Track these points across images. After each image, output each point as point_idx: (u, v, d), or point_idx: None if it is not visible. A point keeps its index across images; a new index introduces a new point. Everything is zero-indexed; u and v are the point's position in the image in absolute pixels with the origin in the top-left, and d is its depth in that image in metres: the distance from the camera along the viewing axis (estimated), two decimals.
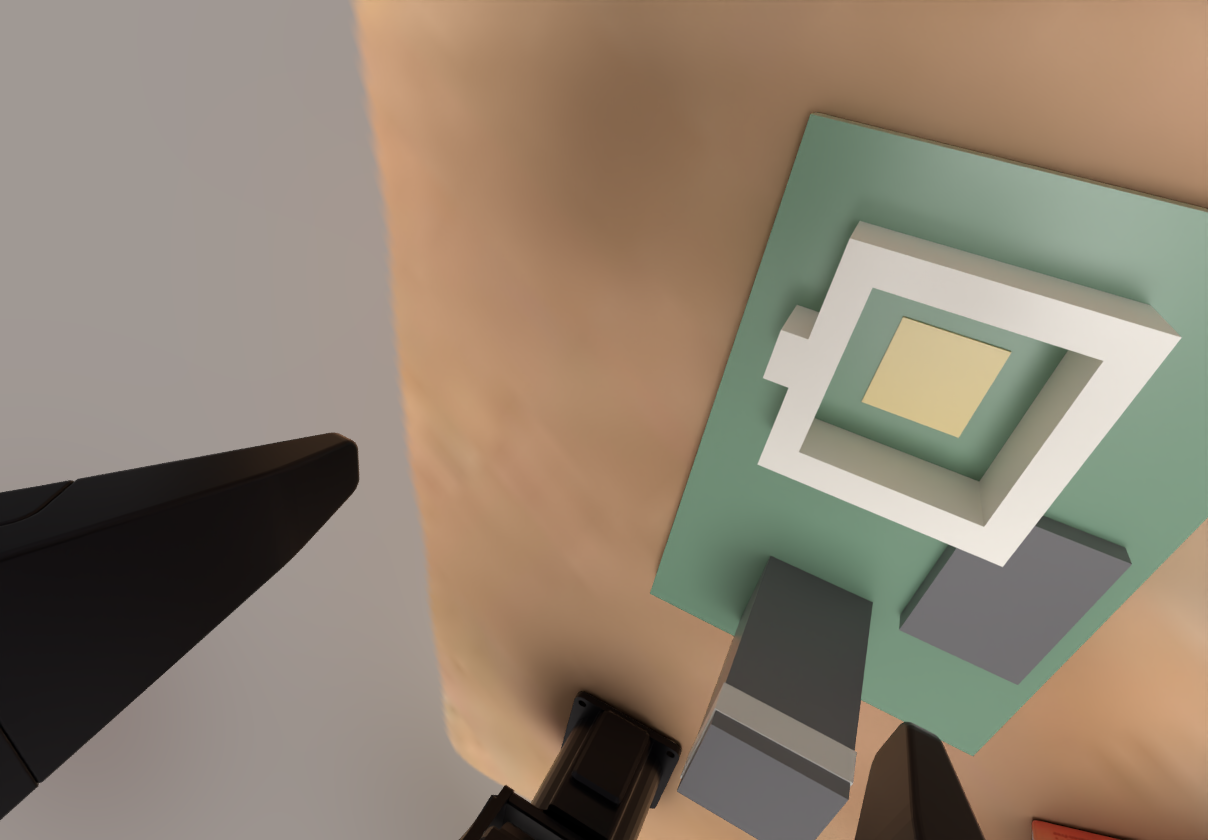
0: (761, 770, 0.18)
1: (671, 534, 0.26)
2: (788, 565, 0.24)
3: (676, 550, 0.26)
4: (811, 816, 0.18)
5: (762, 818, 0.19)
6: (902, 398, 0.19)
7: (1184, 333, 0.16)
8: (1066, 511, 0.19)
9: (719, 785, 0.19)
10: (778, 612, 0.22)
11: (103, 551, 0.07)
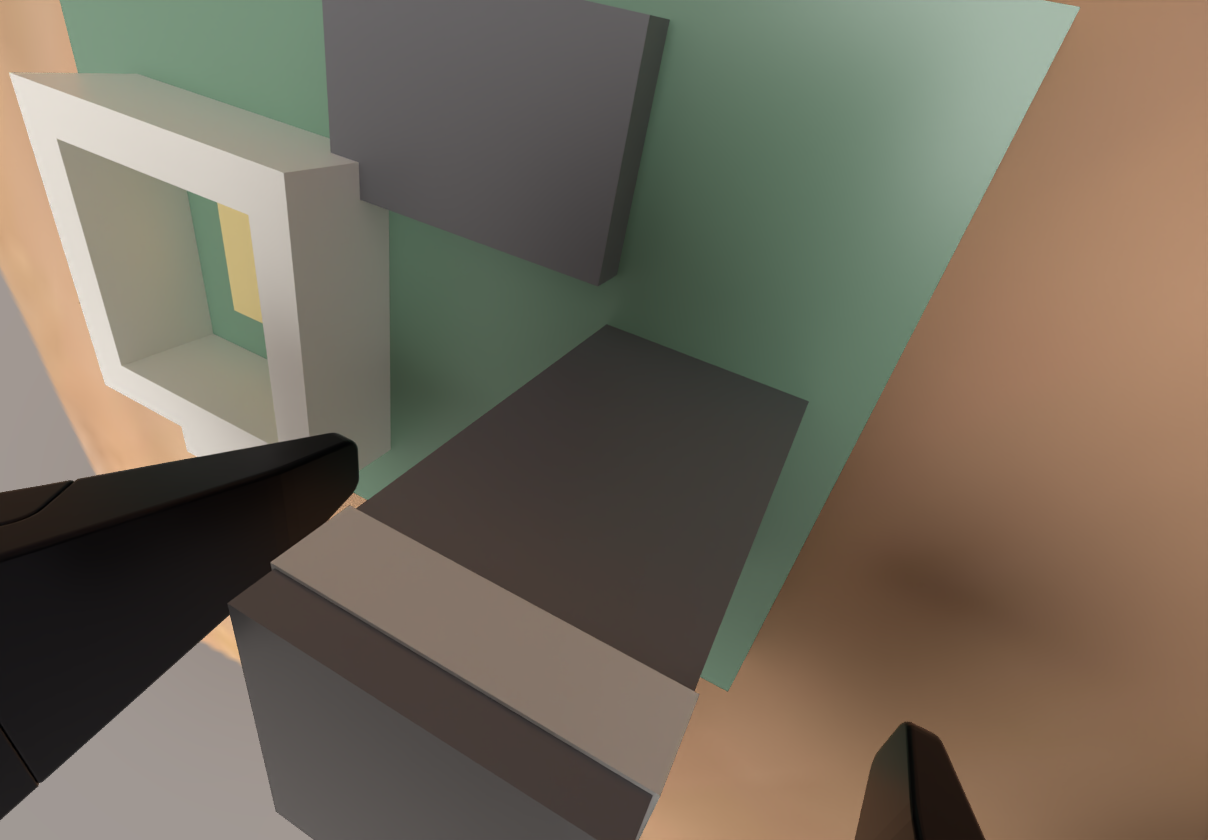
0: (312, 772, 0.07)
1: None
2: None
3: None
4: (361, 718, 0.05)
5: None
6: None
7: (139, 27, 0.14)
8: None
9: None
10: None
11: (103, 551, 0.07)
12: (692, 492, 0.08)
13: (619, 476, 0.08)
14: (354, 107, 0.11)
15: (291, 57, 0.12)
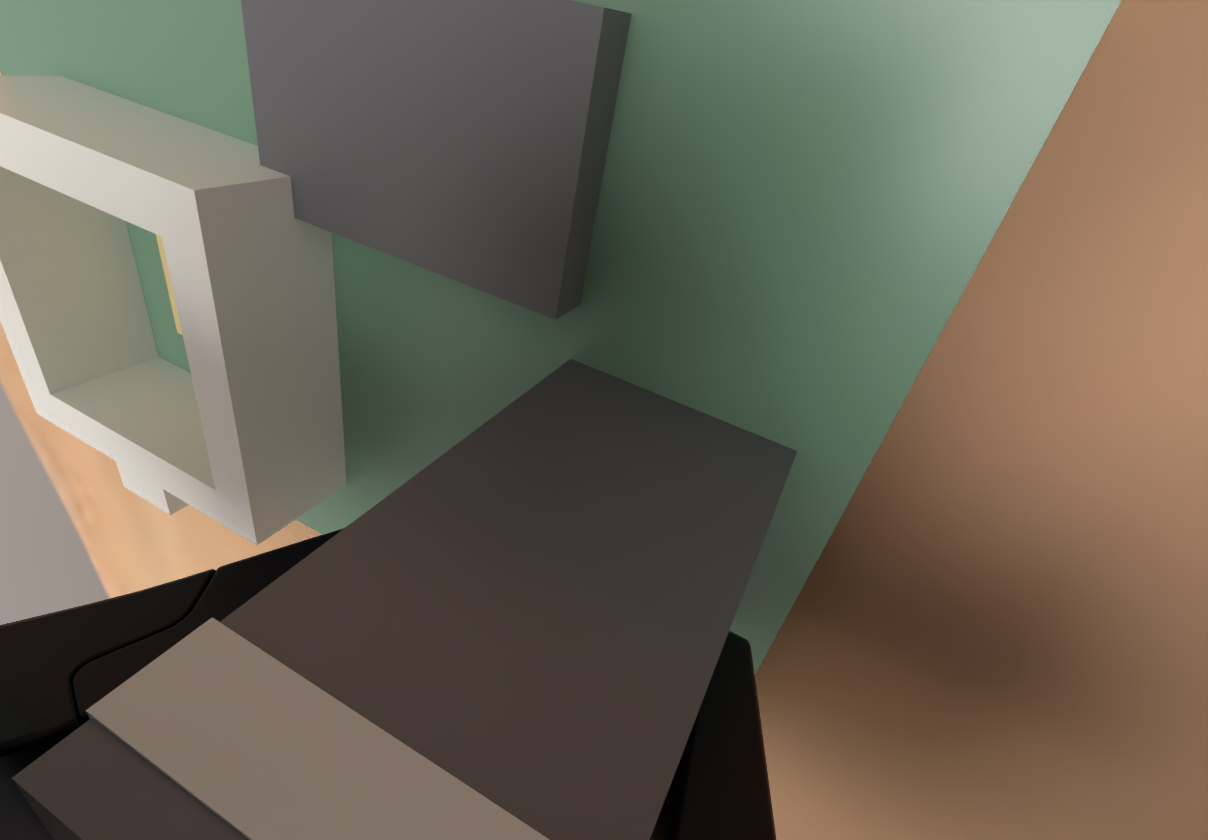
0: None
1: None
2: None
3: None
4: None
5: None
6: None
7: (60, 24, 0.12)
8: None
9: None
10: None
11: None
12: (651, 580, 0.07)
13: (563, 561, 0.07)
14: (282, 114, 0.10)
15: (219, 58, 0.11)
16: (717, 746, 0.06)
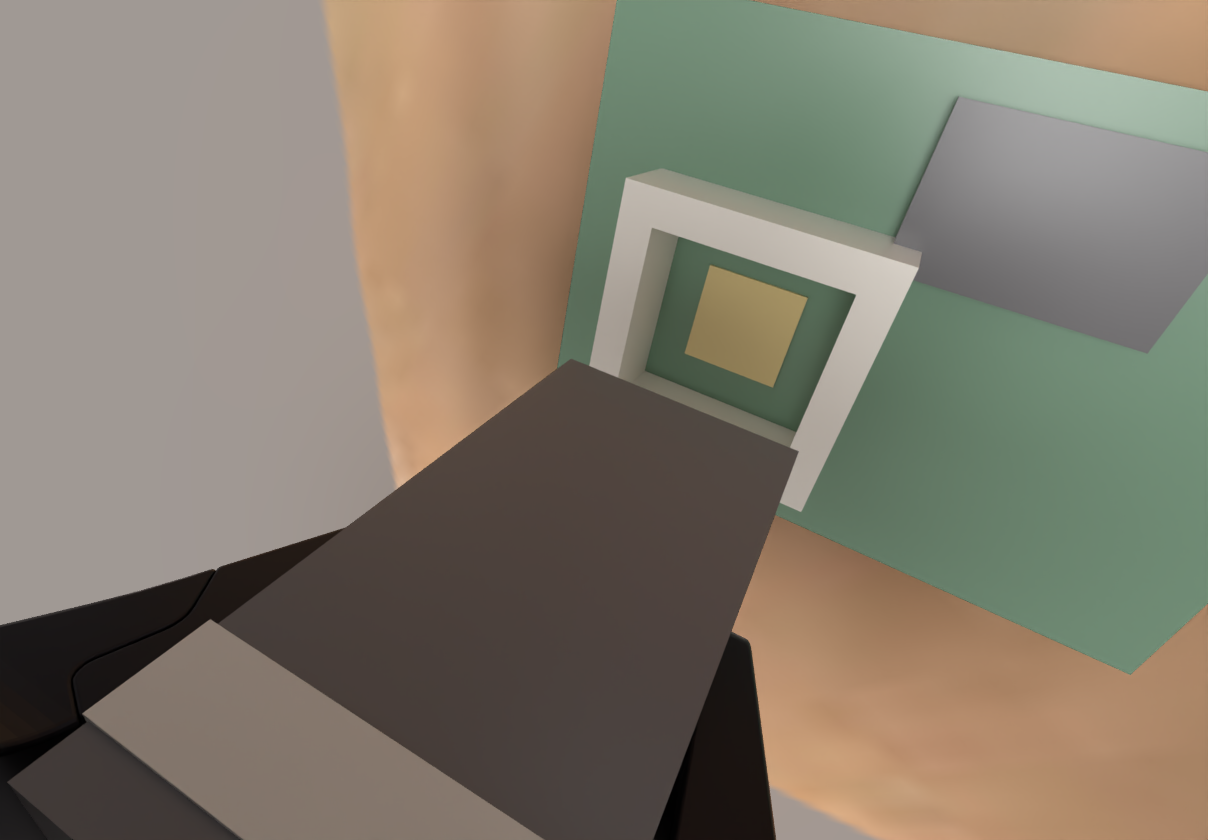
0: None
1: (994, 611, 0.19)
2: None
3: (1026, 613, 0.19)
4: None
5: None
6: (765, 352, 0.19)
7: (684, 134, 0.17)
8: (904, 174, 0.15)
9: None
10: None
11: None
12: (653, 581, 0.07)
13: (565, 562, 0.07)
14: (937, 212, 0.15)
15: (849, 167, 0.16)
16: (717, 746, 0.06)
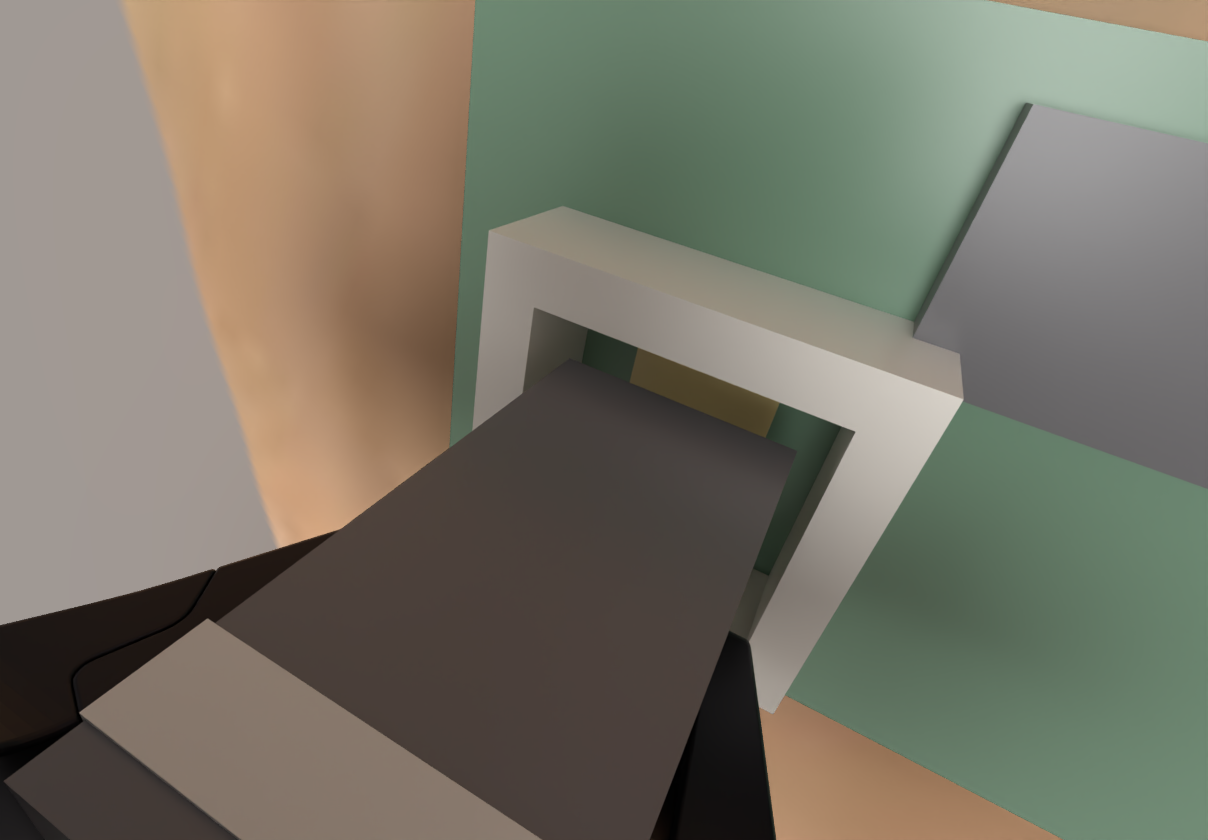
0: None
1: (1046, 828, 0.13)
2: None
3: (1094, 838, 0.13)
4: None
5: None
6: None
7: (590, 157, 0.11)
8: (929, 227, 0.09)
9: None
10: None
11: None
12: (651, 580, 0.07)
13: (562, 561, 0.07)
14: (988, 295, 0.09)
15: (841, 213, 0.10)
16: (717, 746, 0.06)
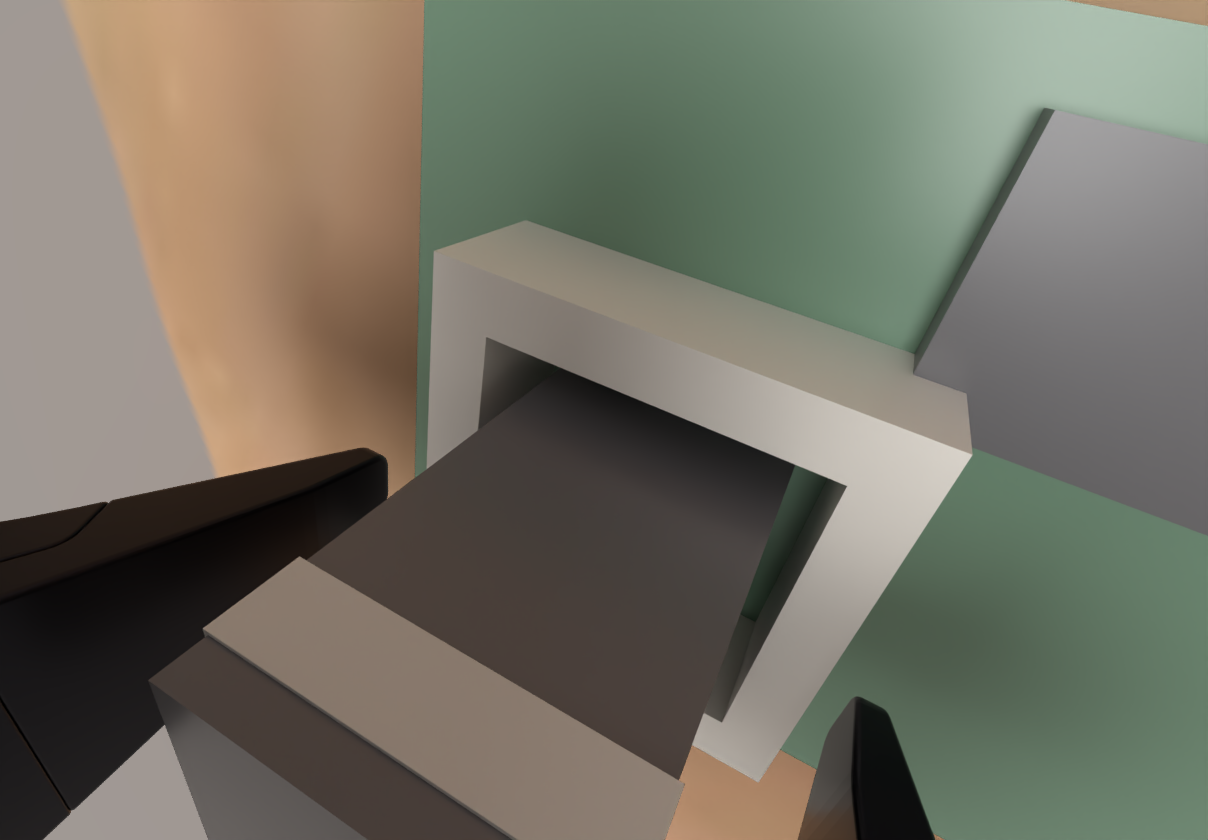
0: None
1: None
2: None
3: None
4: (297, 814, 0.05)
5: None
6: None
7: (554, 166, 0.10)
8: (932, 249, 0.08)
9: None
10: None
11: (138, 575, 0.07)
12: (682, 533, 0.07)
13: (603, 516, 0.07)
14: (999, 328, 0.08)
15: (832, 231, 0.09)
16: None
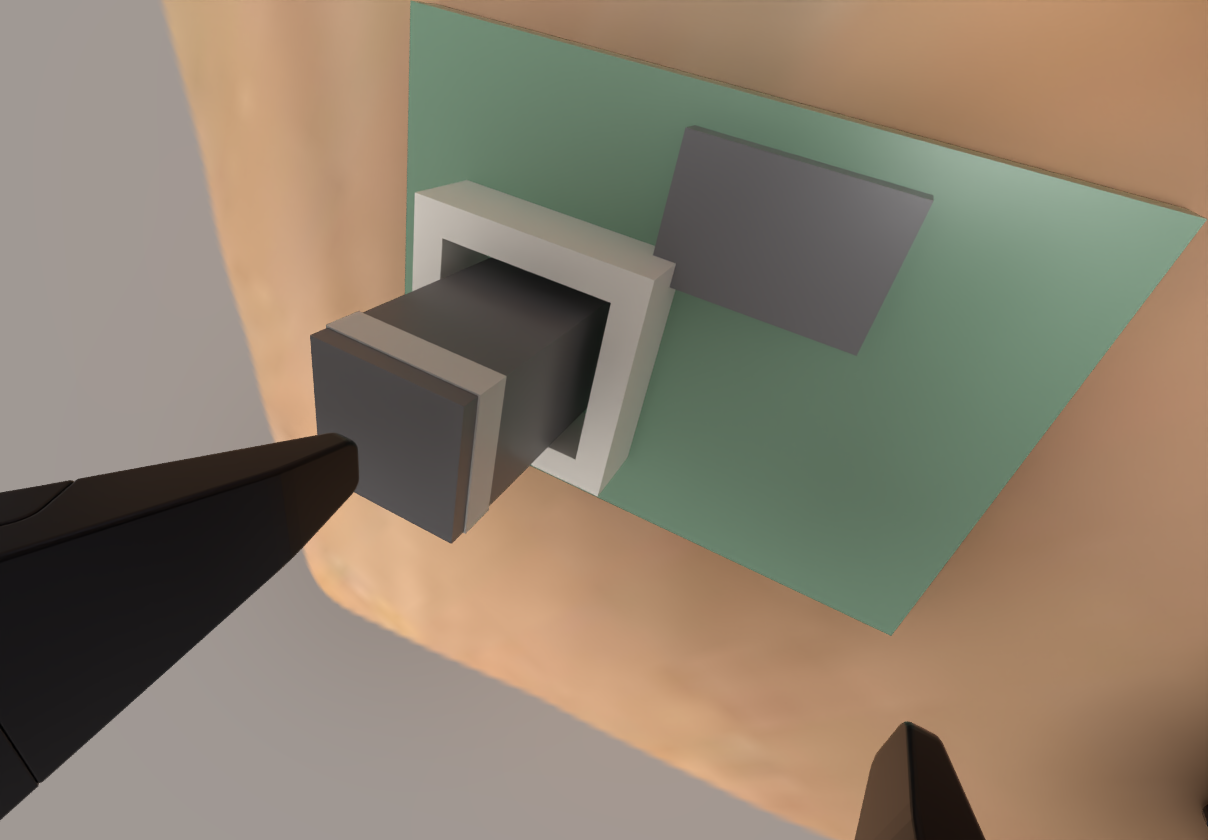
0: (342, 430, 0.14)
1: (782, 582, 0.21)
2: None
3: (806, 584, 0.21)
4: (366, 379, 0.13)
5: (416, 441, 0.13)
6: None
7: (481, 149, 0.19)
8: (661, 192, 0.17)
9: (399, 485, 0.14)
10: None
11: (103, 551, 0.07)
12: (530, 321, 0.16)
13: (494, 313, 0.16)
14: (683, 229, 0.16)
15: (617, 184, 0.17)
16: None
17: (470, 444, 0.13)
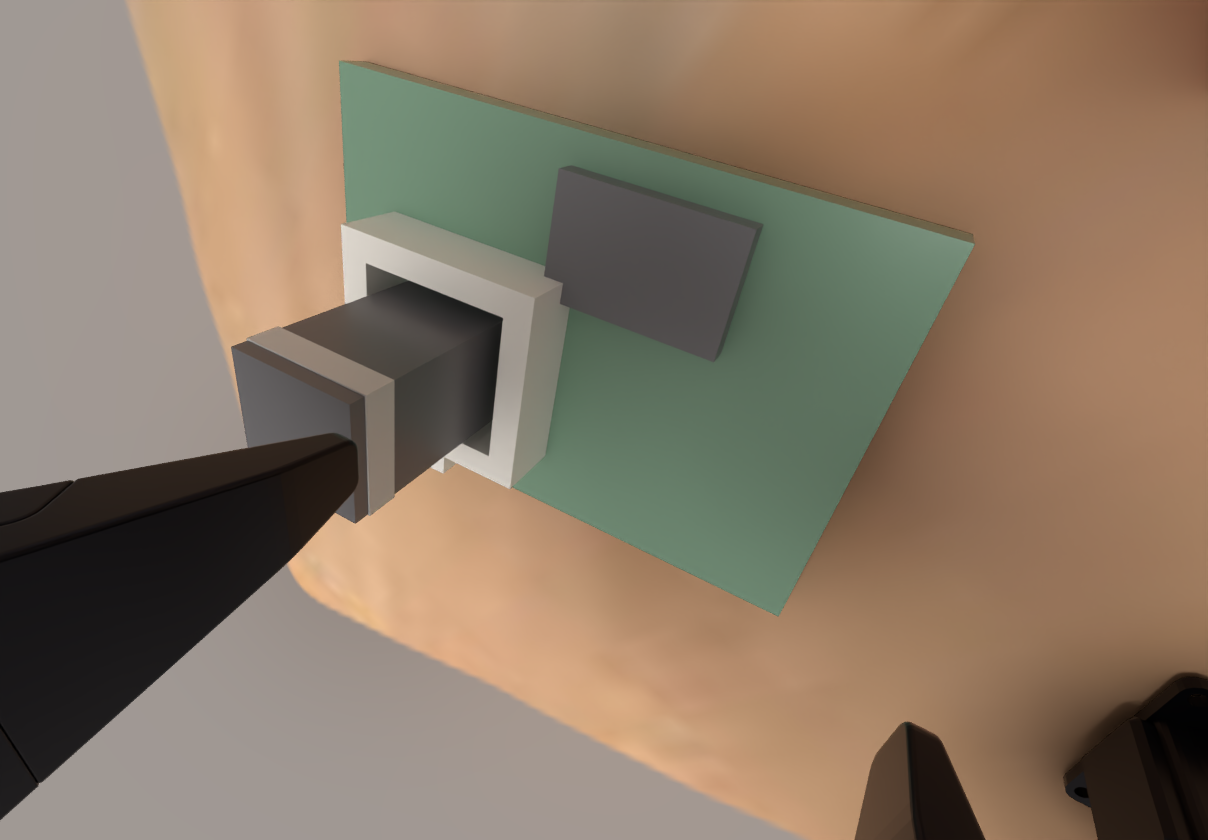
0: (263, 426, 0.17)
1: (683, 569, 0.23)
2: None
3: (703, 570, 0.23)
4: (276, 383, 0.16)
5: None
6: None
7: (404, 185, 0.21)
8: (551, 222, 0.19)
9: None
10: None
11: (102, 551, 0.07)
12: (432, 334, 0.19)
13: (400, 327, 0.19)
14: (565, 253, 0.19)
15: (515, 215, 0.20)
16: None
17: (362, 437, 0.16)
